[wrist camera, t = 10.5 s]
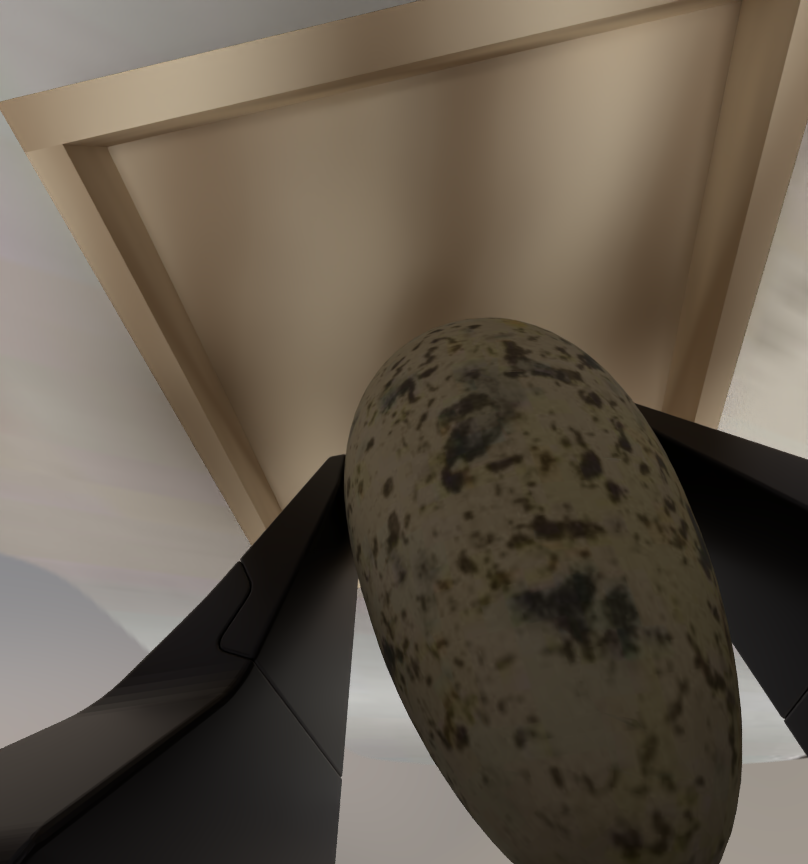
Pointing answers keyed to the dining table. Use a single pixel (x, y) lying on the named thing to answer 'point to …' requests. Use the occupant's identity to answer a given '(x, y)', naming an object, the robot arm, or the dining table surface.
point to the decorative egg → (545, 599)
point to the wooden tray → (429, 204)
